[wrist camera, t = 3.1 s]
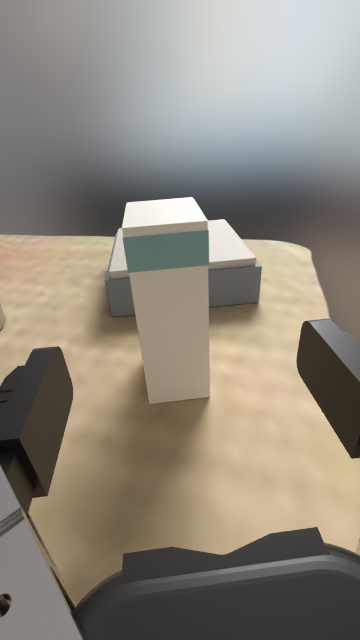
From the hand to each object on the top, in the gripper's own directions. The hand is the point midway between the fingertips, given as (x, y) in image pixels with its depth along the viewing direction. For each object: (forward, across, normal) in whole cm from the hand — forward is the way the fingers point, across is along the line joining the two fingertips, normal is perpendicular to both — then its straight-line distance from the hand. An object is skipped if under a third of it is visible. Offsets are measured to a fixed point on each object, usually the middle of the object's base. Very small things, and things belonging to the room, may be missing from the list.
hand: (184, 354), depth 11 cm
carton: (+12, 0, +11) cm, 16 cm away
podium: (+30, -2, +10) cm, 31 cm away
